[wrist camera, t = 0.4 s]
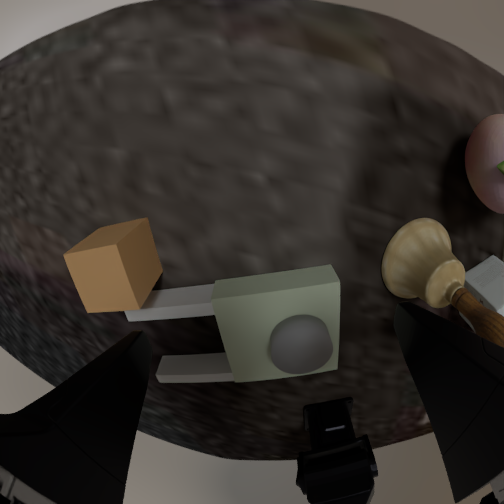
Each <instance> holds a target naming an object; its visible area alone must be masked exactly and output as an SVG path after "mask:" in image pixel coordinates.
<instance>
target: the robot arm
mask: <svg viewBox="0 0 504 504" xmlns="http://www.w3.org/2000/svg"><path fill="white" fill-rule="evenodd" d="M394 328H395V331H396V334H397V337H398V340H399V343H400V346H401V349H402V352H403V355H404V358H405V361H406V364H407V366H408V368H409V371H410V373H411V375H412V377H413V380H414V382H415V384H416V387H417V389H418V392H419V394H420V397H421V399H422V402H423V404H424V407H425V409H426V412H427V414H428V417H429V420H430V422H431V425H432V428H433V431H434V434H435V436H436V439H437V442H438V445H439V448H440V451H441V454H442V458H443V461H444V464H445V468H446V471H447V475H448V478H449V481H450V485H451V489H452V493H453V497H454V500H455V503H458V502H460V501H461V500H463V499H465V498H467V497H468V496H470V495H472V494H473V493H474V492H477V491H478V490H480V489H481V488H483V487H484V486H486V485H487V484H489V483H490V484H491V487H492V489H493V491H492V492H491V493H489V494H488V495H486V496H485V497H483V498H482V499H481V502H480V504H504V347H501V346H499V345H497V344H495V343H493V342H491V341H489V340H487V339H485V338H483V337H480V336H479V335H477V334H475V333H473V332H471V331H469V330H467V329H465V328H463V327H461V326H459V325H457V324H455V323H453V322H451V321H449V320H446V319H444V318H442V317H440V316H438V315H436V314H434V313H432V312H430V311H428V310H426V309H424V308H422V307H420V306H417V305H415V304H413V303H411V302H409V301H405V302H400V303H398V304H397V307H396V312H395V317H394ZM151 359H152V347H151V345H150V342H149V340H148V338H147V335H146V333H145V332H144V331H142V330H135V331H132V332H131V333H129V334H128V335H127V336H125V337H124V338H123V339H121V340H120V341H118V342H117V343H116V344H114V345H113V346H112V347H110V348H109V349H108V350H106V351H105V352H103V353H102V354H101V355H99V356H98V357H97V358H95V359H94V360H93V361H91V362H90V363H88V364H87V365H86V366H84V367H83V368H82V369H80V370H79V371H78V372H76V373H75V374H73V375H72V376H71V377H69V378H68V380H65V381H64V382H63V383H61V384H60V385H59V386H57V387H56V388H54V389H53V390H51V391H50V392H48V393H47V394H45V395H44V396H42V397H41V398H39V399H37V400H36V401H34V402H33V403H31V404H29V405H28V406H26V407H25V408H23V409H21V410H20V411H18V412H15V413H12V414H0V504H123V499H124V493H125V486H126V485H125V484H126V480H127V474H128V469H129V464H130V459H131V454H132V450H133V445H134V440H135V435H136V431H137V427H138V423H139V418H140V414H141V410H142V406H143V402H144V398H145V394H146V390H147V385H148V378H149V372H150V365H151ZM352 406H353V398H346V399H341V400H336V401H331V402H326V403H320V404H314V405H308V406H305V407H304V422H305V430H306V431H309V433H310V440H311V447H312V450H311V451H306V452H299V457H298V458H297V464H298V471H297V478H296V485H297V486H299V487H300V488H301V490H302V492H303V494H304V495H307V500H308V502H309V503H310V504H370V501H371V499H372V497H373V494H374V479H373V478H374V477H377V476H378V470H377V465H376V461H375V457H374V454H373V451H372V448H371V445H370V442H369V439H368V436H367V434H366V435H363V436H362V437H359V438H356V437H355V433H354V429H353V425H352V422H351V418H350V416H351V411H352Z"/></svg>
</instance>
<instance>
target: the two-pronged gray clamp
mask: <svg viewBox="0 0 504 504" xmlns="http://www.w3.org/2000/svg"><path fill="white" fill-rule="evenodd" d="M124 312H125V314H126V316H127V319H128V321H145V320H161V319H174V318H187V317H198V316H209V315H215V317H216V320H217V324H218V327H219V331H220V334H221V338H222V341H223V344H224V348H225V351H226V352H225V353H211V354H194V355H169V356H162V359H161V361H160V364H159V367H158V370H157V373H156V377H157V379H158V380H159V382H160V383H196V382H221V381H235V383H236V382H249V381H260V380H269V379H278V378H286V377H293V376H300V375H307V374H313V373H319V372H325V371H330V370H335V369H337V366H338V350H339V326H340V280H339V279H338V277H337V275H336V273H335V271H334V269H333V268H332V266H331V264H330V265H324V266H317V267H310V268H304V269H297V270H290V271H283V272H276V273H268V274H261V275H254V276H246V277H239V278H231V279H223V280H215V284H208V285H199V286H191V287H182V288H174V289H165V290H155V291H151V292H150V293H149V295H148V297H147V298H146V300H145V302H144V303H143V305H142V307H141V309H140V310H127V311H124Z"/></svg>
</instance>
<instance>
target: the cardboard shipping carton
mask: <svg viewBox="0 0 504 504" xmlns="http://www.w3.org/2000/svg"><path fill="white" fill-rule="evenodd" d="M64 258H65V261H66V263H67V266H68V269H69V271H70V274H71V276H72V279H73V281H74V283H75V286H76V288H77V290H78V293H79V295H80V297H81V299H82V302H83V304H84V306H85V308H86V310H87V312H88V313H93V312H111V311H127V310H140V309H141V307H142V305H143V303H144V302H145V300H146V298H147V297H148V295H149V293H150V292H151V290H152V288H153V287H154V285H155V283H156V282H157V280H158V278H159V277H160V275H161V274H162V272H163V270H162V267H161V263H160V260H159V257H158V253H157V250H156V247H155V243H154V240H153V236H152V232H151V229H150V225H149V221H148V218H142V219H137V220H133V221H128V222H123V223H119V224H115V225H110V226H106V227H101V228H99V229H98V230H96V231H95V232H93V233H92V234H91V235H89V236H88V237H86V238H85V239H84V240H82V241H81V242H80V243H78V244H77V245H76V246H74V247H73V248H72V249H70V250H69V251H68V252H66V253H65V254H64Z"/></svg>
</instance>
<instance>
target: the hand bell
mask: <svg viewBox="0 0 504 504" xmlns="http://www.w3.org/2000/svg"><path fill="white" fill-rule="evenodd" d="M381 269H382V277H383V281H384V283H385V285H386V287H387V288H388V290H389V291H390V292H391V293H393V294H394V295H396V296H398V297H402V298H416V297H419V298H421V299H422V300H424V301H425V302H426V303H427V304H429V305H430V306H431V307H434V308H442V307H445V306H447V305H449V304H450V303H451V304H452V305H453V306H454V307H455V308H456V309H458V311H460V312H461V313H462V314H463V315H464V316H465V317H466V318H467V319H468V320H469V321H470V323H471V324H472V326H473V328H474V330H475V332H476V334H477V335H479V336H480V337H483V338H485V339H487V340H489V341H491V342H493V343H495V344H497V345H499V346H501V347H504V316H502V315H501V314H499V313H497V312H495V311H493V310H490V309H488V308H486V307H484V306H483V305H482V304H481V303H480V302H479V301H478V300H477V299H476V298H475V297H474V296H473V295H472V294H471V293H470V292H469V291H468V289H466V288H464V287H463V286H464V282H465V270H464V267H463V265H462V263H461V262H460V261H459V260H458V259H457V258H456V257H455V256H454V255H453V254H452V252H451V242H450V238H449V236H448V233H447V231H446V229H445V228H444V227H443V226H442V225H441V224H440V223H439V222H437V221H436V220H434V219H430V218H419V219H415V220H413V221H411V222H409V223H407V224H406V225H404V226H403V227H401V228H400V229H399V230H398V231H397V232H396V234H395V235H394V236H393V237H392V239H391V240H390V242H389V243H388V245H387V248H386V250H385V253H384V256H383V260H382V268H381Z"/></svg>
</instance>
